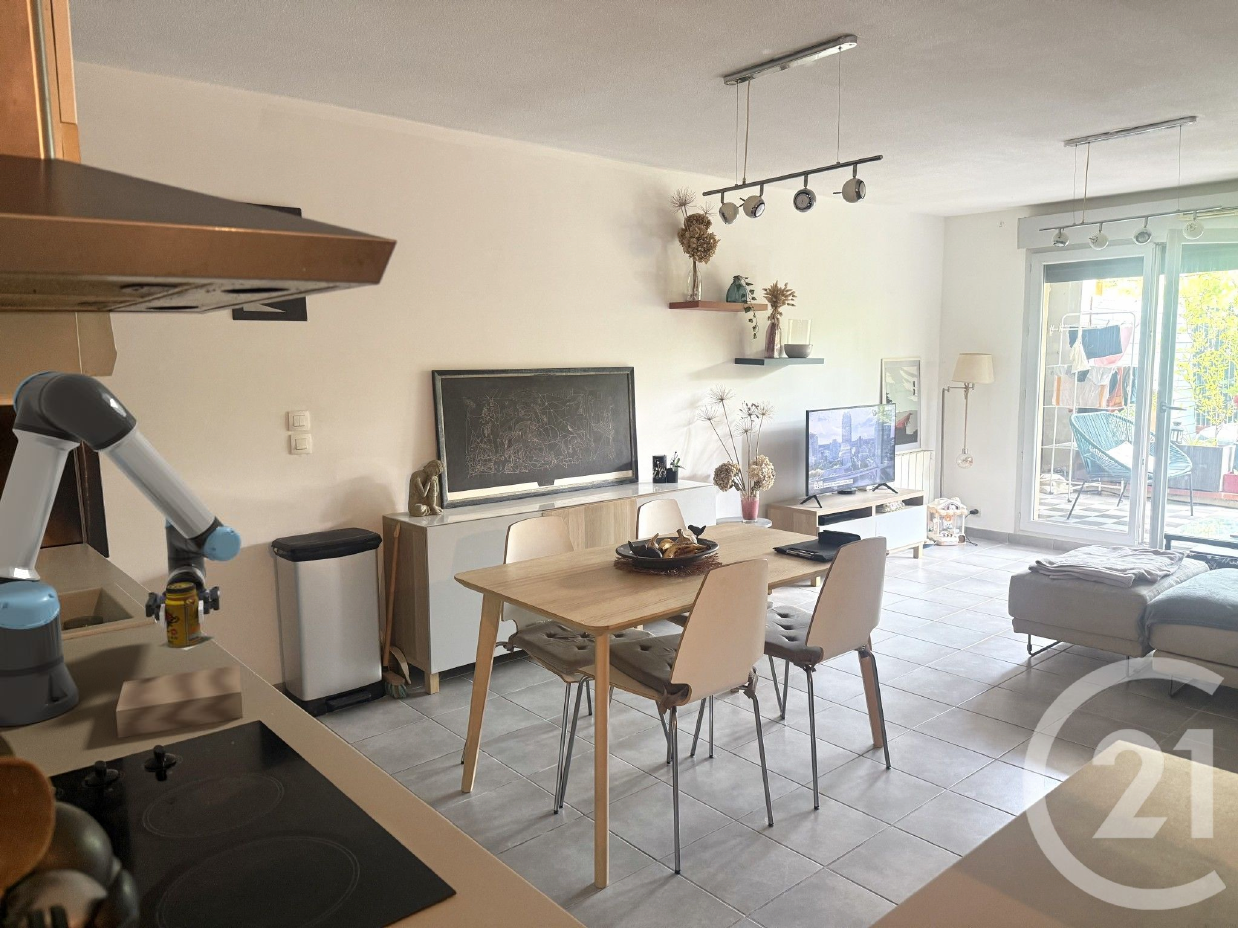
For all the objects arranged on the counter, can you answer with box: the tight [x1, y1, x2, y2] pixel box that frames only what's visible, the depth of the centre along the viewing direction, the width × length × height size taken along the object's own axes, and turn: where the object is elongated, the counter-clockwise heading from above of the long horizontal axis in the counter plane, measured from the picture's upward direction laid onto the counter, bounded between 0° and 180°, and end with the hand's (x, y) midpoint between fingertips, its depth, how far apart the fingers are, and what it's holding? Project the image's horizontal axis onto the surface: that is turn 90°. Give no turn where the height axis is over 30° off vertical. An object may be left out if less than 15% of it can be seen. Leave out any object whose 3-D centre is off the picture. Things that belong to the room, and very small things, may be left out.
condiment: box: [157, 582, 218, 651], centre depth 174 cm, size 7×8×12 cm
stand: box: [115, 664, 244, 739], centre depth 162 cm, size 20×14×5 cm
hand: (181, 618), depth 169 cm, fingers closed on condiment, 6 cm apart
